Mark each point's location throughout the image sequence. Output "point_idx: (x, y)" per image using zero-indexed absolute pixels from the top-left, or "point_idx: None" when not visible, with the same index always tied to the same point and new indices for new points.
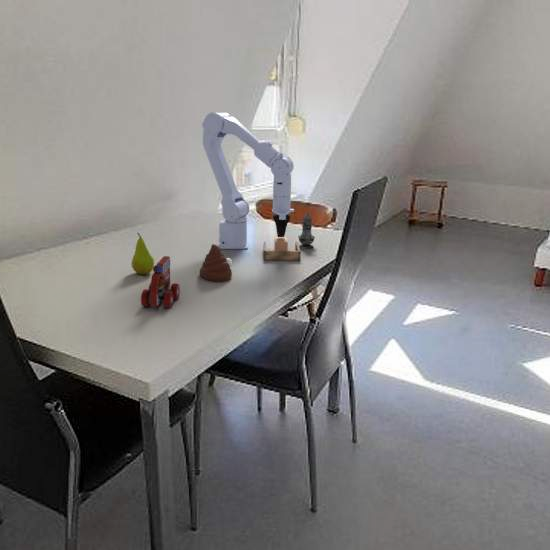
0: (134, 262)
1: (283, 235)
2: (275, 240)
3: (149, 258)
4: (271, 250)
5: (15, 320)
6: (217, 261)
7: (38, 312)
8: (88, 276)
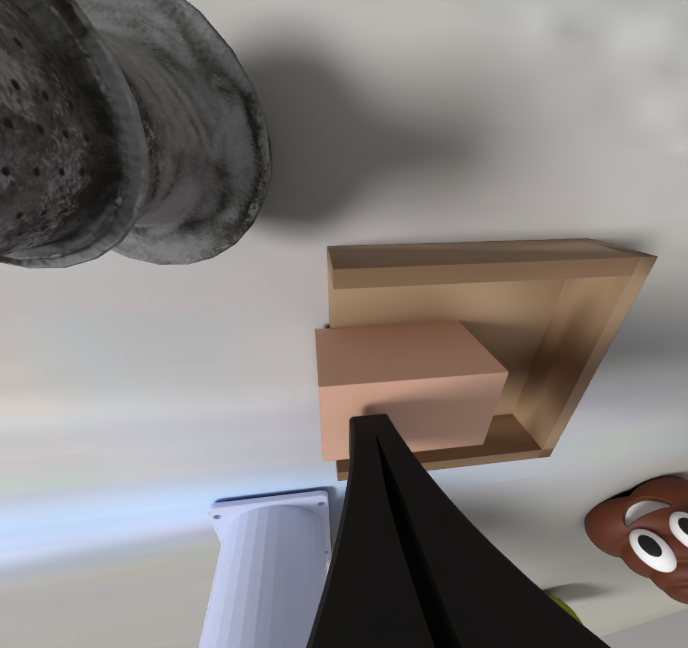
0: None
1: (392, 430)
2: (434, 447)
3: None
4: None
5: (668, 614)
6: None
7: (655, 612)
8: None
